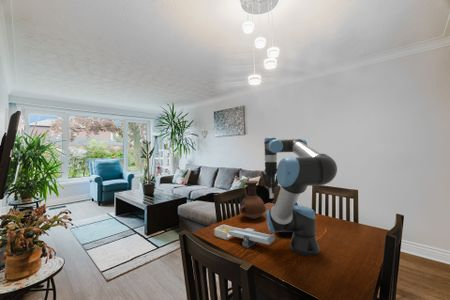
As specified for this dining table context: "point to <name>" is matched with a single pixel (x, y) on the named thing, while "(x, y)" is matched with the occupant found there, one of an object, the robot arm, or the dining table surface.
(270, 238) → the seesaw
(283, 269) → the dining table surface
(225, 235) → the dish
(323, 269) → the dining table surface
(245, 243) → the trunnion stand
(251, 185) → the vase
